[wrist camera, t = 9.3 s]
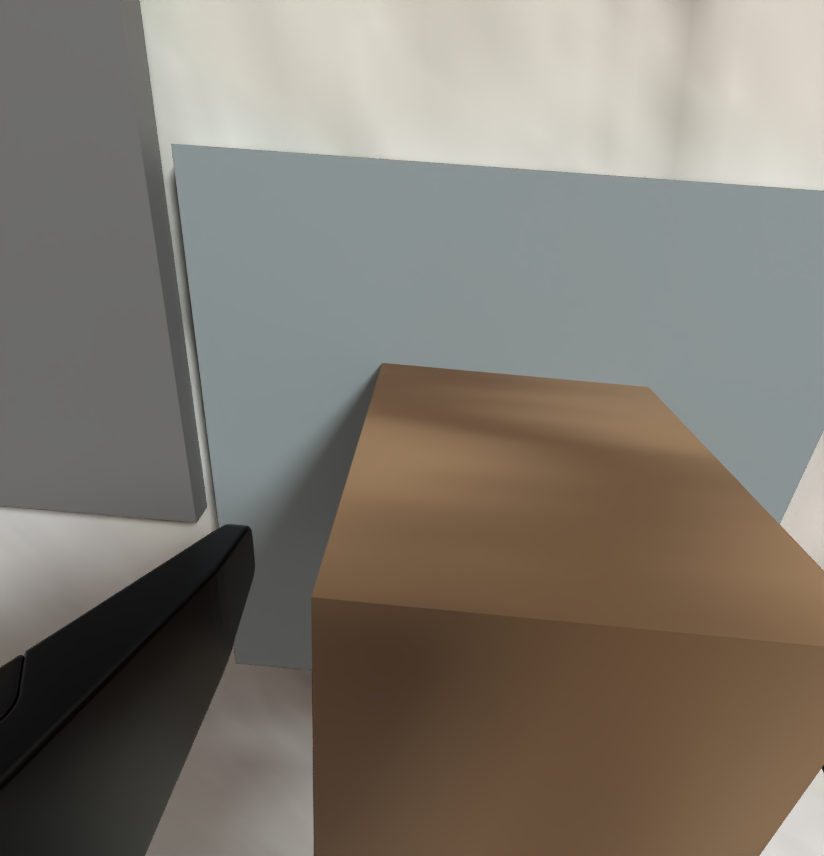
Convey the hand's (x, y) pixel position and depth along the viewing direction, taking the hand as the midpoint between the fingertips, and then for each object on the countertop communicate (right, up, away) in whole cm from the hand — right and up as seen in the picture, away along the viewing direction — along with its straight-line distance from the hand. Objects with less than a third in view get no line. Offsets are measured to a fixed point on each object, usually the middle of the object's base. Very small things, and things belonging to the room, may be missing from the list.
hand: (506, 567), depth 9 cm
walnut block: (0, +1, +2) cm, 2 cm away
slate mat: (0, +1, +3) cm, 3 cm away
